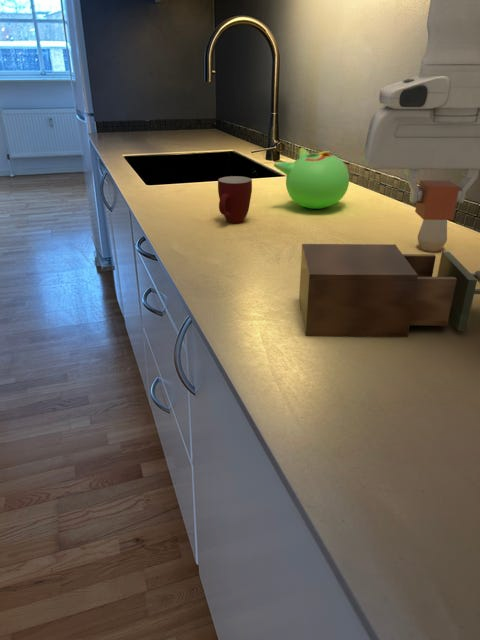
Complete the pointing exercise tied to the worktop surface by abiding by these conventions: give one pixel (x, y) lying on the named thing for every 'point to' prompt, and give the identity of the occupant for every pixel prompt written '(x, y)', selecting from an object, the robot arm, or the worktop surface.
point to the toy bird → (315, 179)
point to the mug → (234, 197)
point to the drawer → (442, 291)
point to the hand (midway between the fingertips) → (435, 202)
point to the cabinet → (356, 290)
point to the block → (437, 200)
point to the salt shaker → (432, 235)
